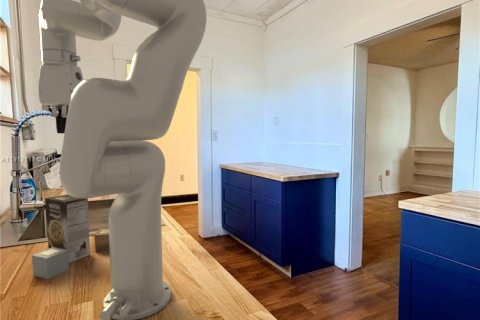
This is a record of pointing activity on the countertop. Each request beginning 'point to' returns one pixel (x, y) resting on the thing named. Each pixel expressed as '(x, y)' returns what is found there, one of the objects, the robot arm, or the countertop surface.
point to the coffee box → (68, 225)
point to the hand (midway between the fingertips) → (64, 133)
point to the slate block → (50, 262)
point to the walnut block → (102, 240)
